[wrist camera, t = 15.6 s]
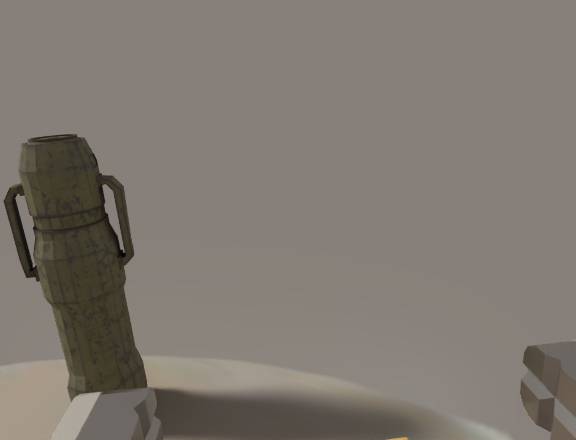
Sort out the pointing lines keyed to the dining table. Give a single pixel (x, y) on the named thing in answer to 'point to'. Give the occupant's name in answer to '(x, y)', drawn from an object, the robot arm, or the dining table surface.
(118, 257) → the thermos
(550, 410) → the robot arm
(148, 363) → the dining table surface
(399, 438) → the yellow tall bar
